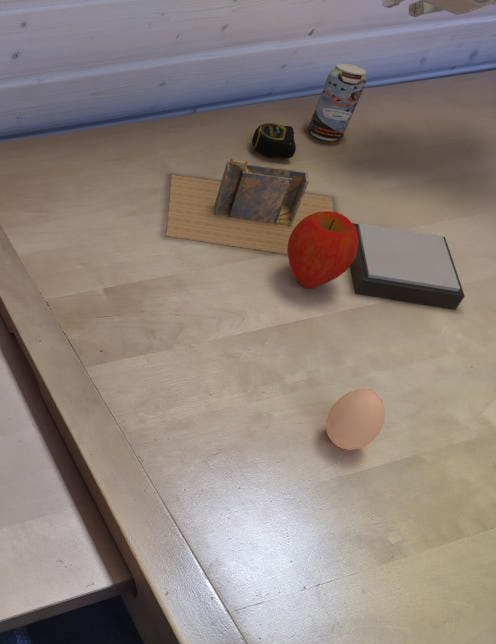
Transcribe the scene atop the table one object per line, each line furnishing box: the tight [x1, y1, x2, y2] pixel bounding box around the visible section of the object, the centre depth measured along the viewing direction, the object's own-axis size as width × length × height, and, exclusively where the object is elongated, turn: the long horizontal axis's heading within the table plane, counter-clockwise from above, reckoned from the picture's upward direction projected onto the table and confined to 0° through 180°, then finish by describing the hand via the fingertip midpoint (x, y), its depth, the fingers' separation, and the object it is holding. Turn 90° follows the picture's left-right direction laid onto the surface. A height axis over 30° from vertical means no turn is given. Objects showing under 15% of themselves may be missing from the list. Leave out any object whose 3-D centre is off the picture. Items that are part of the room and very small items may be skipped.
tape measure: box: [251, 122, 297, 159], centre depth 119 cm, size 7×7×4 cm
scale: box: [350, 222, 466, 310], centre depth 99 cm, size 13×13×3 cm
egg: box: [325, 388, 386, 451], centre depth 76 cm, size 5×5×8 cm
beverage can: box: [307, 62, 368, 142], centre depth 120 cm, size 6×7×12 cm
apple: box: [287, 211, 359, 290], centre depth 93 cm, size 9×8×11 cm
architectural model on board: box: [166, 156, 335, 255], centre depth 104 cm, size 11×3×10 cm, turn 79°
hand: (397, 6), depth 107 cm, fingers open, 8 cm apart
